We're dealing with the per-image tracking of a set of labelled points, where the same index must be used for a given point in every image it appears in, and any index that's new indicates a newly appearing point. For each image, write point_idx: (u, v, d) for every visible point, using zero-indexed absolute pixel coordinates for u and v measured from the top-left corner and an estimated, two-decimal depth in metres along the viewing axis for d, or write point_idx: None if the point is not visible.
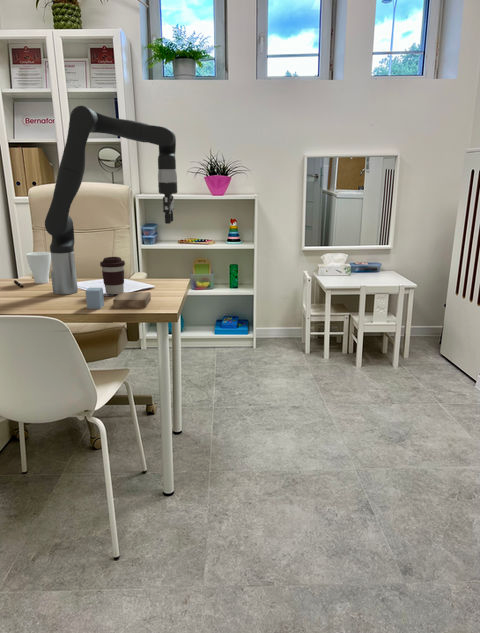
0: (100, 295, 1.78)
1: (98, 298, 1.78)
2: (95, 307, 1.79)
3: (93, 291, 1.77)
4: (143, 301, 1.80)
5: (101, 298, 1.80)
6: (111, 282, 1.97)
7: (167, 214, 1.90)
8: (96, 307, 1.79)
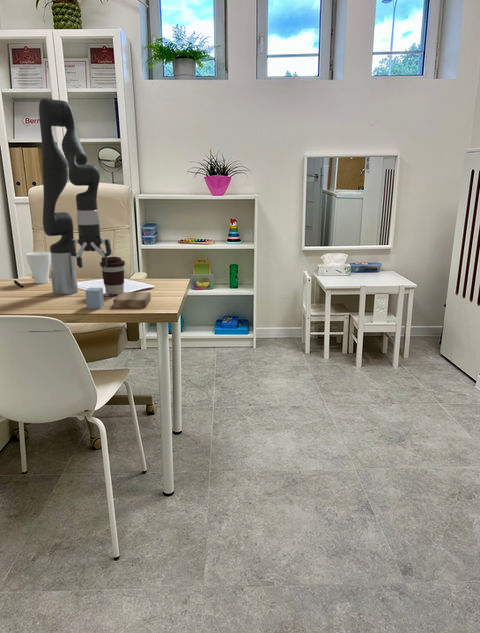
0: (100, 295, 1.78)
1: (98, 298, 1.78)
2: (95, 307, 1.79)
3: (93, 291, 1.77)
4: (143, 301, 1.80)
5: (101, 298, 1.80)
6: (111, 282, 1.97)
7: (106, 257, 1.76)
8: (96, 307, 1.79)
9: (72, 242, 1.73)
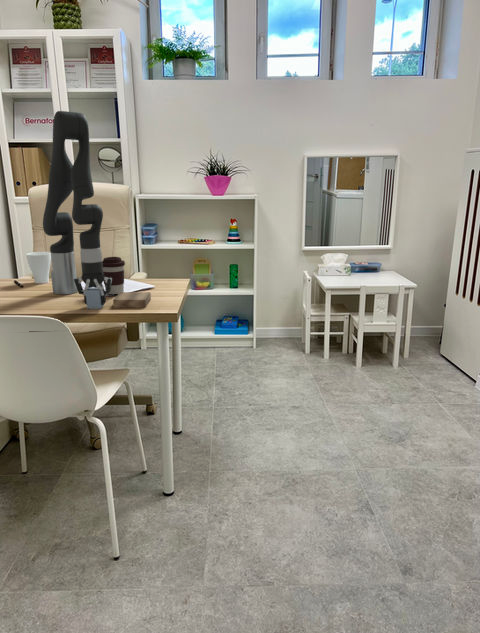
0: (99, 295, 1.78)
1: (98, 298, 1.78)
2: (95, 307, 1.79)
3: (93, 291, 1.77)
4: (143, 301, 1.80)
5: None
6: None
7: None
8: (96, 307, 1.79)
9: (76, 281, 1.77)
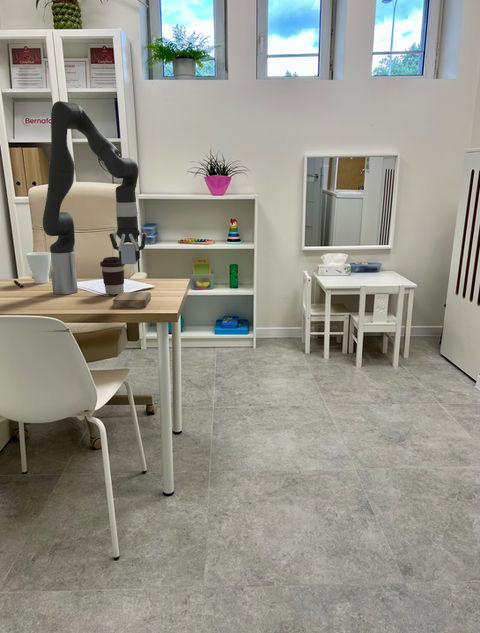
0: (134, 250, 1.79)
1: (133, 253, 1.78)
2: (130, 262, 1.79)
3: (128, 246, 1.77)
4: (143, 301, 1.80)
5: (135, 254, 1.81)
6: (111, 282, 1.97)
7: (139, 251, 1.81)
8: (131, 262, 1.79)
9: (111, 236, 1.78)
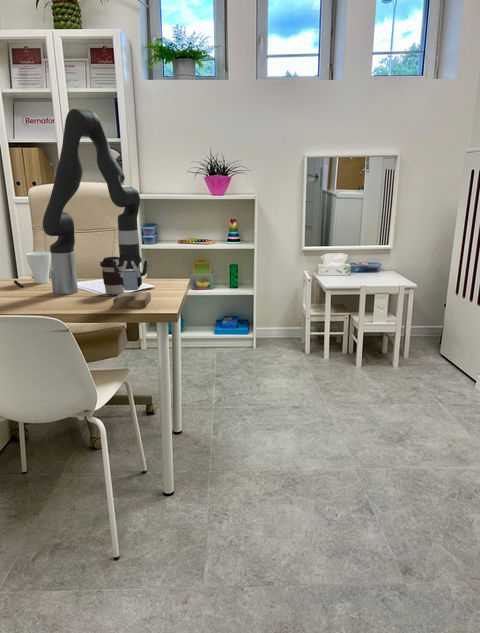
0: (136, 276, 1.81)
1: (135, 280, 1.81)
2: (132, 289, 1.82)
3: (130, 273, 1.80)
4: (143, 301, 1.80)
5: None
6: (111, 282, 1.97)
7: (141, 277, 1.83)
8: (133, 289, 1.82)
9: (114, 263, 1.80)
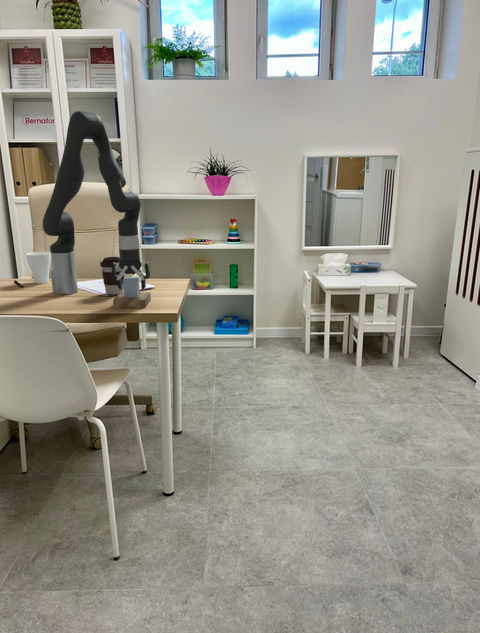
0: (136, 284, 1.82)
1: (135, 287, 1.82)
2: (132, 296, 1.83)
3: (130, 280, 1.81)
4: (143, 301, 1.80)
5: (138, 287, 1.84)
6: (111, 282, 1.97)
7: None
8: (133, 296, 1.83)
9: (113, 265, 1.81)
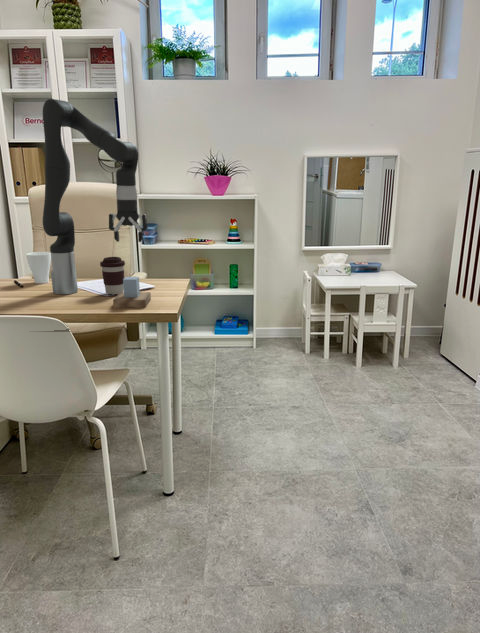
0: (136, 284, 1.82)
1: (135, 287, 1.82)
2: (132, 296, 1.83)
3: (130, 280, 1.81)
4: (143, 301, 1.80)
5: (138, 287, 1.84)
6: (111, 282, 1.97)
7: (142, 232, 1.84)
8: (133, 296, 1.83)
9: (111, 216, 1.81)
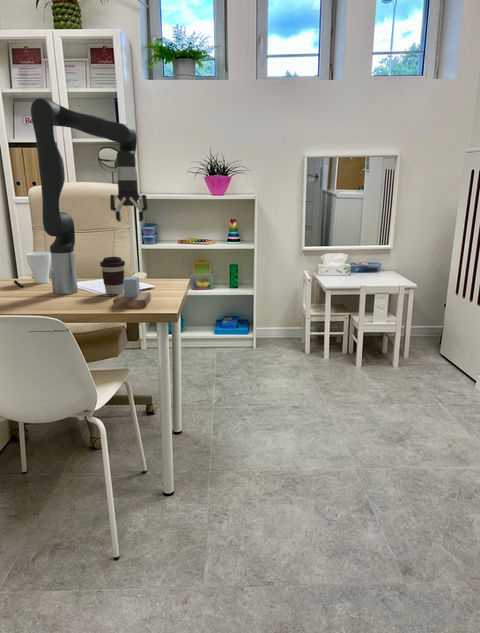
0: (136, 284, 1.82)
1: (135, 287, 1.82)
2: (132, 296, 1.83)
3: (130, 280, 1.81)
4: (143, 301, 1.80)
5: (138, 287, 1.84)
6: (111, 282, 1.97)
7: None
8: (133, 296, 1.83)
9: (112, 197, 1.87)
